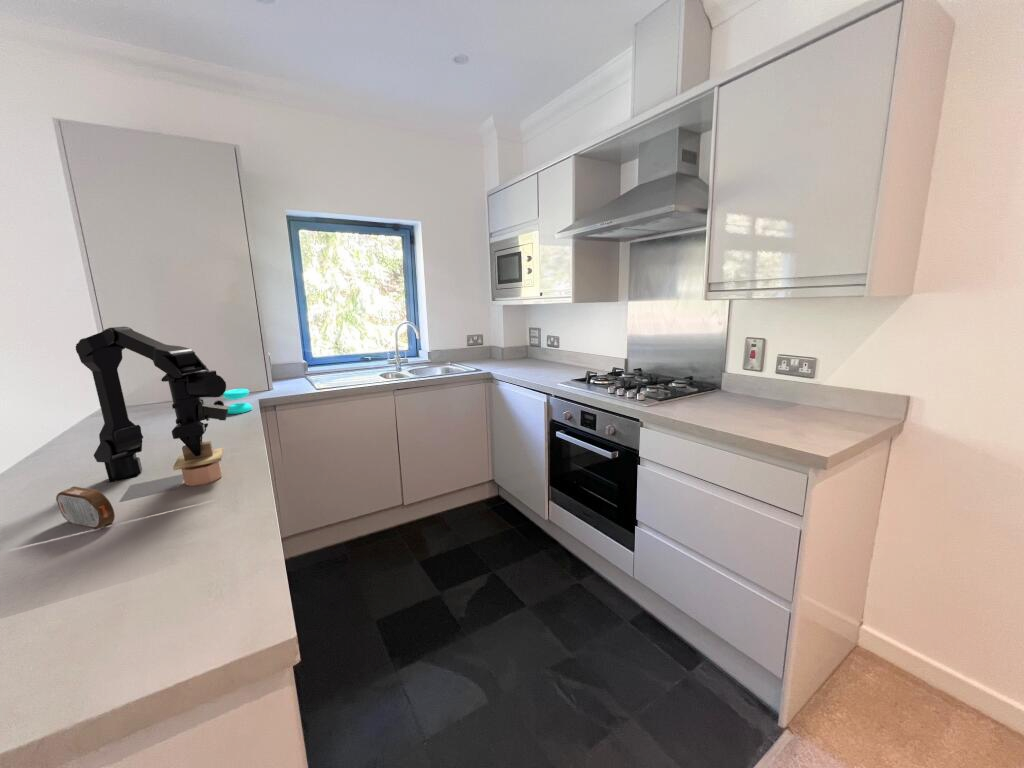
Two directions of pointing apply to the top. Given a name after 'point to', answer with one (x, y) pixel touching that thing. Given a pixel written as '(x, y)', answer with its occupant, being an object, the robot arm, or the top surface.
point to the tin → (85, 507)
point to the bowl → (202, 474)
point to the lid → (206, 456)
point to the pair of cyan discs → (237, 407)
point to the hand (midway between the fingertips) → (198, 454)
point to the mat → (153, 487)
